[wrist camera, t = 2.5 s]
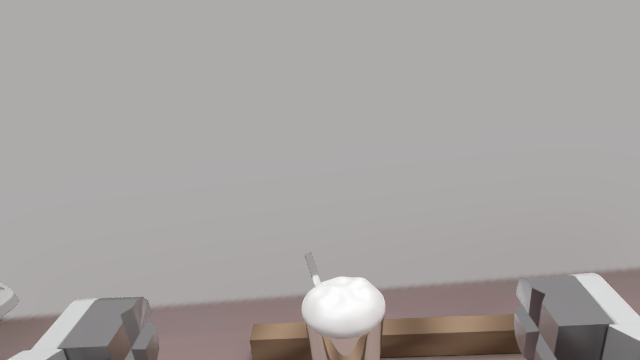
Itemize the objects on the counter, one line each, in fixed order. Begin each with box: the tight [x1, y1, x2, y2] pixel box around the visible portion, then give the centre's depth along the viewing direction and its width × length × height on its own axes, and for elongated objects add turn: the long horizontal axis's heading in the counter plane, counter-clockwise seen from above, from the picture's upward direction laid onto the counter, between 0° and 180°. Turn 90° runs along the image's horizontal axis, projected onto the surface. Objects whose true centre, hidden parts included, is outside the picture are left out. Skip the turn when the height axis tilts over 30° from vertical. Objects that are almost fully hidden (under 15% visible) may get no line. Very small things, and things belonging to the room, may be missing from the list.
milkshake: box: [302, 252, 385, 360], centre depth 26 cm, size 5×5×10 cm
